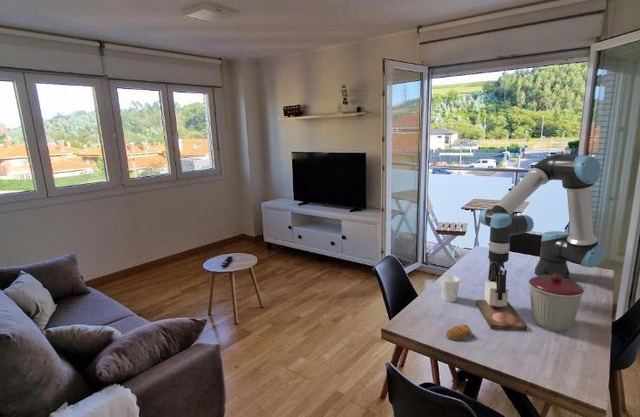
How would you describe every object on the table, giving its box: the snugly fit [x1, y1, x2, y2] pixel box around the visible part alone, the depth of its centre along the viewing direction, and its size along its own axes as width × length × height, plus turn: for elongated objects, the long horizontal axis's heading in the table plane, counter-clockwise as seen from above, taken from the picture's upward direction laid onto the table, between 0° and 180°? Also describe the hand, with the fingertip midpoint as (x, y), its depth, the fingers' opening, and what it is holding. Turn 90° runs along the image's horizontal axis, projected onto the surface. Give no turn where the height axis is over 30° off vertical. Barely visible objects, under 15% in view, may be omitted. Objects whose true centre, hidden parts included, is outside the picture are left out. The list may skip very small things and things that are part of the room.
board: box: [475, 299, 528, 332], centre depth 147 cm, size 13×21×10 cm, turn 172°
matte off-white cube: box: [483, 281, 509, 306], centre depth 152 cm, size 7×7×8 cm
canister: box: [528, 274, 586, 332], centre depth 139 cm, size 18×18×21 cm
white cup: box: [440, 274, 460, 303], centre depth 164 cm, size 8×8×10 cm
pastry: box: [445, 323, 473, 341], centre depth 136 cm, size 9×7×4 cm
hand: (495, 301), depth 153 cm, fingers closed on matte off-white cube, 7 cm apart
